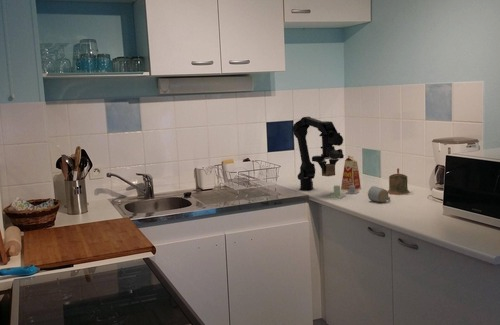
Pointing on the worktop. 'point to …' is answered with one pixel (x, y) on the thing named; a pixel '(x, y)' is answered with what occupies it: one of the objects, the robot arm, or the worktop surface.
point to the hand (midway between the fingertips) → (328, 172)
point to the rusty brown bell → (398, 184)
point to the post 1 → (336, 193)
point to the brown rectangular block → (329, 170)
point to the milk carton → (350, 175)
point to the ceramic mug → (378, 194)
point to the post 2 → (352, 190)
